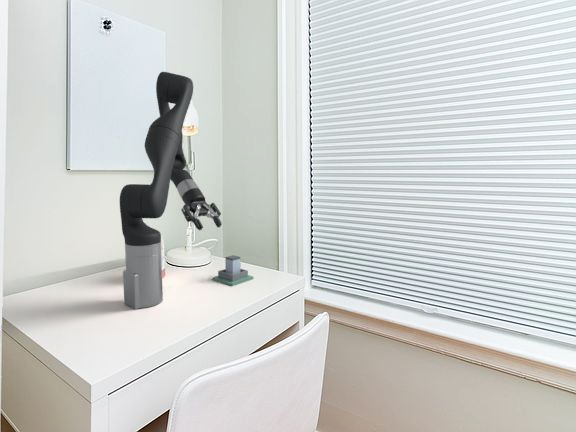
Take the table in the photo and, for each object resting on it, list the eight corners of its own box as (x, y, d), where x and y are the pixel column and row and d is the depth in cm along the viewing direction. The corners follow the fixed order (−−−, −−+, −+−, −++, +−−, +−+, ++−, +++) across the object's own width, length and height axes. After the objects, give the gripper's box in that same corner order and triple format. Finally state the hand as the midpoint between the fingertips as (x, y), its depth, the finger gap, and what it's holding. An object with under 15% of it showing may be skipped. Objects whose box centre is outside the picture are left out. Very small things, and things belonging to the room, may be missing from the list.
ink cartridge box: (151, 275, 118) (150, 234, 116) (165, 275, 117) (164, 235, 116) (140, 283, 109) (138, 239, 107) (155, 284, 109) (154, 240, 107)
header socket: (232, 286, 109) (232, 277, 108) (212, 279, 115) (212, 271, 114) (253, 278, 116) (253, 270, 116) (233, 272, 122) (233, 265, 122)
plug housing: (232, 279, 113) (232, 259, 112) (225, 276, 115) (225, 257, 114) (240, 276, 116) (240, 257, 115) (233, 274, 118) (233, 255, 117)
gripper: (178, 187, 118) (199, 223, 113) (210, 186, 129) (230, 219, 124) (170, 201, 122) (190, 236, 117) (201, 199, 133) (221, 231, 128)
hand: (210, 227), depth 120 cm, fingers open, 8 cm apart
